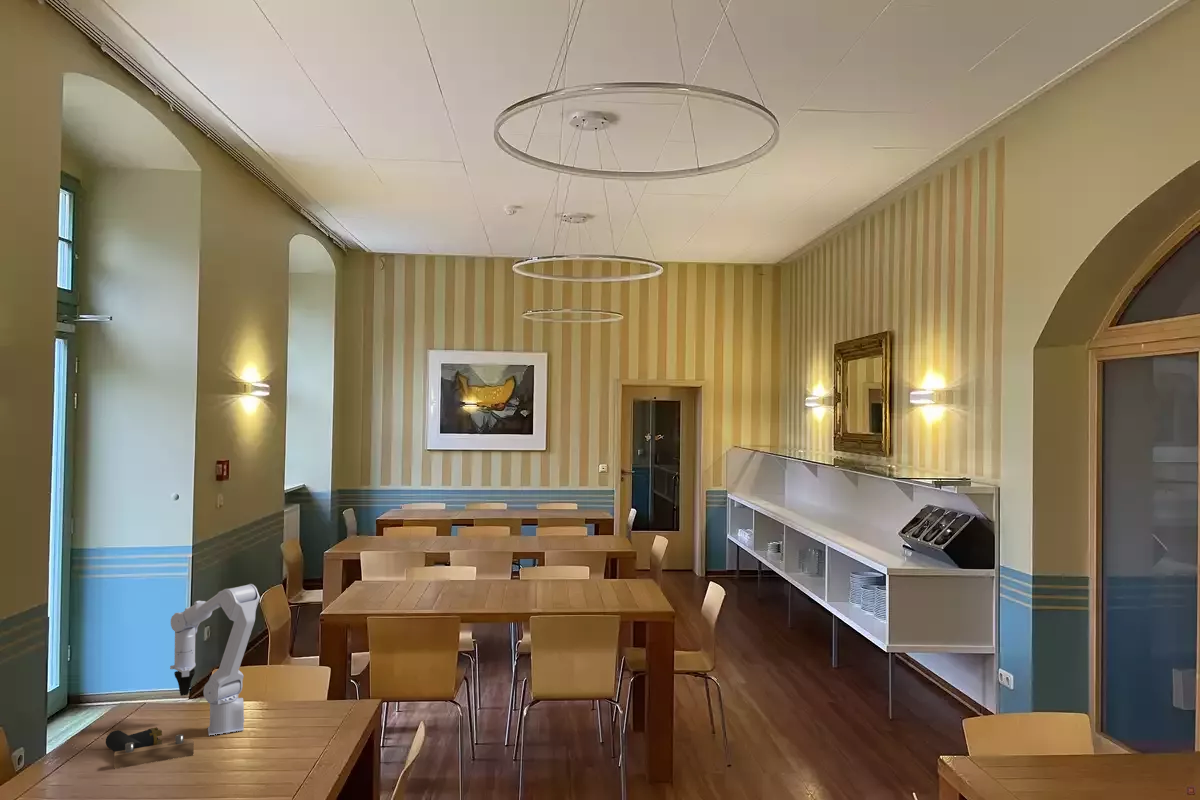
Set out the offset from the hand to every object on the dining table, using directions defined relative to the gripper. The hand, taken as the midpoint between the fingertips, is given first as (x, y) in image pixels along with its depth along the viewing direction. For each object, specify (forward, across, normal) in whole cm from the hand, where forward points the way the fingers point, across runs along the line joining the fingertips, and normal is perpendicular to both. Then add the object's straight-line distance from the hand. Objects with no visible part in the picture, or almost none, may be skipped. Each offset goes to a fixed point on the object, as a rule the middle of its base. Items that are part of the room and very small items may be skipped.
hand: (184, 694), depth 253 cm
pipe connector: (+9, +19, -12) cm, 24 cm away
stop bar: (+8, +29, -8) cm, 32 cm away
